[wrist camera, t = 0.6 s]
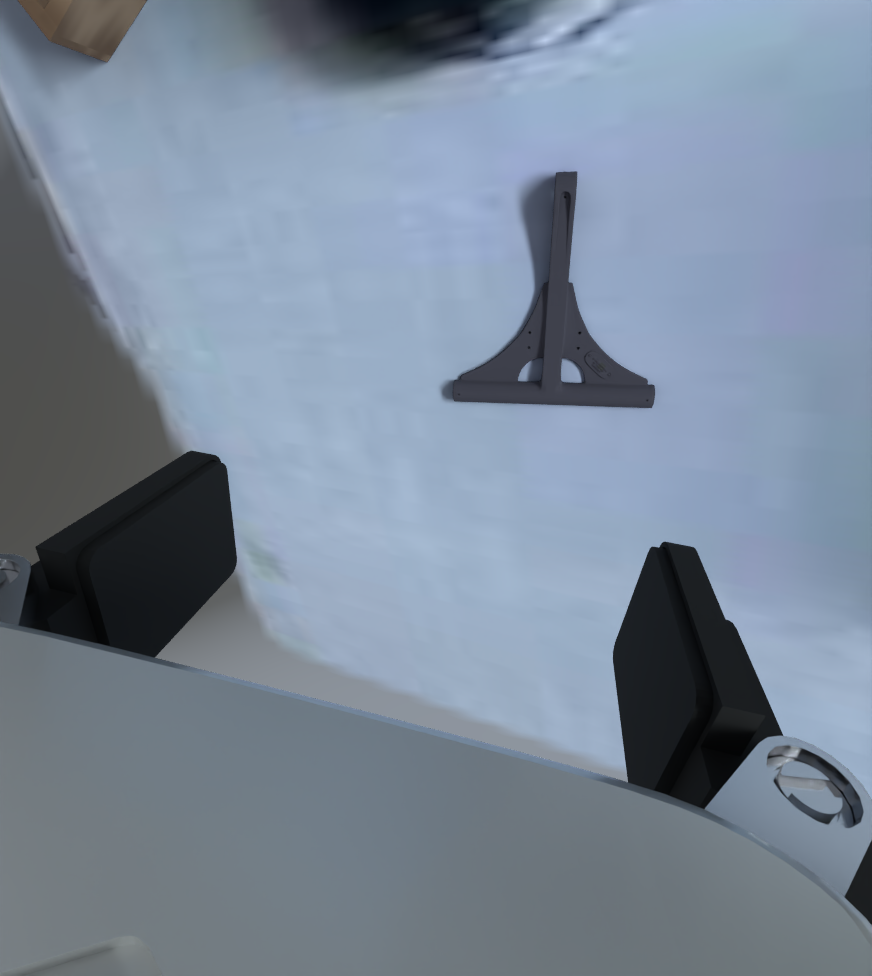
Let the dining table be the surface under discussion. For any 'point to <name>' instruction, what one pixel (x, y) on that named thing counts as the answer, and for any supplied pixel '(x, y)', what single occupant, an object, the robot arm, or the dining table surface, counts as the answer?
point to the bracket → (556, 341)
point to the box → (85, 23)
